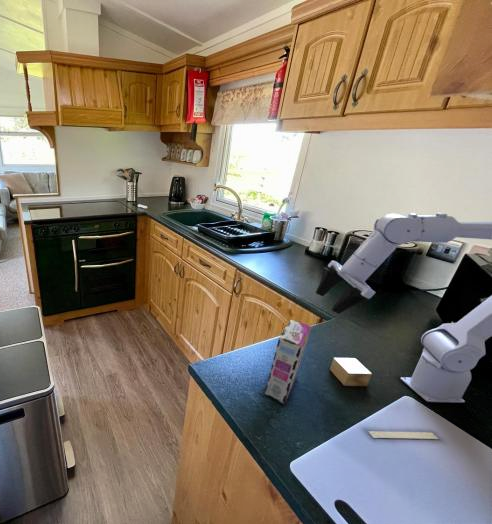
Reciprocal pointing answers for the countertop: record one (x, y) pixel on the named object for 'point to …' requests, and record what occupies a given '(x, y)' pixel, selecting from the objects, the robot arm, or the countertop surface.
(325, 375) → the countertop surface
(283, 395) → the candy bar box
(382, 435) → the tape line
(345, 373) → the maple block
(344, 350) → the countertop surface
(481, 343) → the robot arm
